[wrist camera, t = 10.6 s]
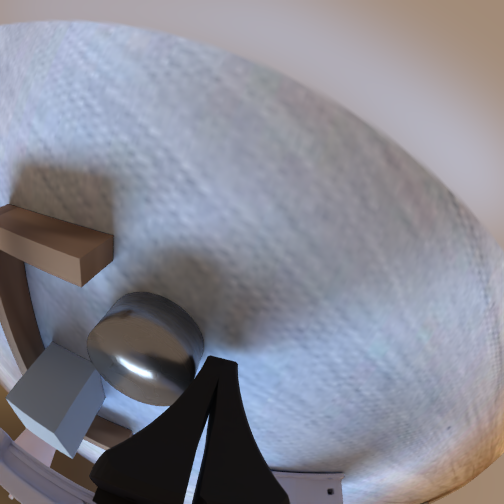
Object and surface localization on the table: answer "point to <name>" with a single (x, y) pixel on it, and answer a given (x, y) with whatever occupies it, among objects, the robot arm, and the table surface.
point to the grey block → (58, 398)
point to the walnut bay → (58, 264)
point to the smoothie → (35, 448)
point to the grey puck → (146, 348)
